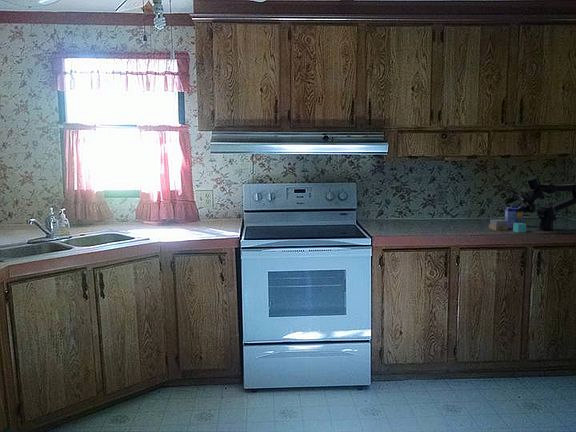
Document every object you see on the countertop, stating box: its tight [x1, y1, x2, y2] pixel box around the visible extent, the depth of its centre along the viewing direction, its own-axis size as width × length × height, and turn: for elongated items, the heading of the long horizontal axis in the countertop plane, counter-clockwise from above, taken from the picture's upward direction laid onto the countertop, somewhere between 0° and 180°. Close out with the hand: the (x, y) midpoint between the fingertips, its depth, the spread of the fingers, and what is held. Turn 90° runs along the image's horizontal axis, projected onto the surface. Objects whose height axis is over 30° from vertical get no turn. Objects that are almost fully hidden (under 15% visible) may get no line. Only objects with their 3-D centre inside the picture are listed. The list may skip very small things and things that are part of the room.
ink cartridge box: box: [504, 203, 525, 228], centre depth 311 cm, size 10×6×14 cm, turn 86°
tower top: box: [489, 218, 507, 226], centre depth 304 cm, size 7×7×3 cm
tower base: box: [488, 223, 509, 231], centre depth 304 cm, size 8×8×3 cm
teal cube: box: [512, 222, 527, 234], centre depth 294 cm, size 5×5×5 cm
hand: (510, 207), depth 293 cm, fingers open, 9 cm apart
